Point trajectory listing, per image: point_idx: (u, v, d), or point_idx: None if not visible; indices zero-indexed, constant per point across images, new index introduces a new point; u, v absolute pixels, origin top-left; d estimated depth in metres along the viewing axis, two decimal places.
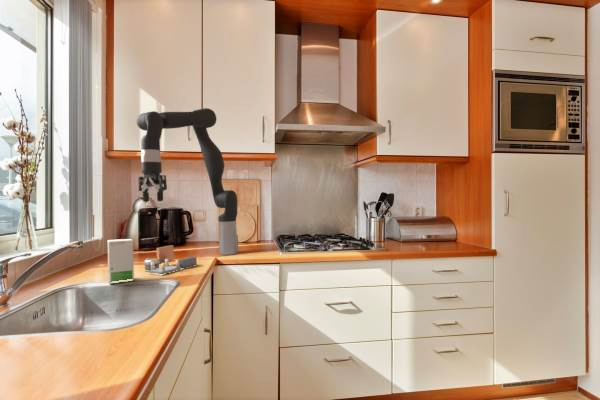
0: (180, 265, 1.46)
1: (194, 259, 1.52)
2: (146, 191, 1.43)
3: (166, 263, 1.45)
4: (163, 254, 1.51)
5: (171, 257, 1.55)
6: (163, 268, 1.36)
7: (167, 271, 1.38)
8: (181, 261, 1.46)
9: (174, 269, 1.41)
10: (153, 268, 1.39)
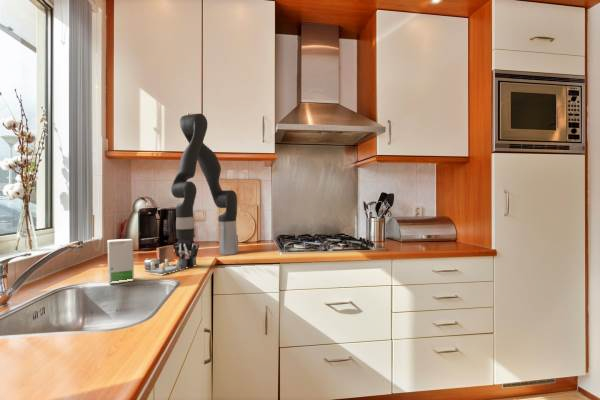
0: (180, 265, 1.46)
1: (194, 259, 1.51)
2: (183, 256, 1.51)
3: (166, 263, 1.45)
4: (163, 254, 1.51)
5: (171, 257, 1.55)
6: (163, 268, 1.36)
7: (167, 271, 1.38)
8: (181, 261, 1.46)
9: (174, 269, 1.41)
10: (153, 268, 1.39)
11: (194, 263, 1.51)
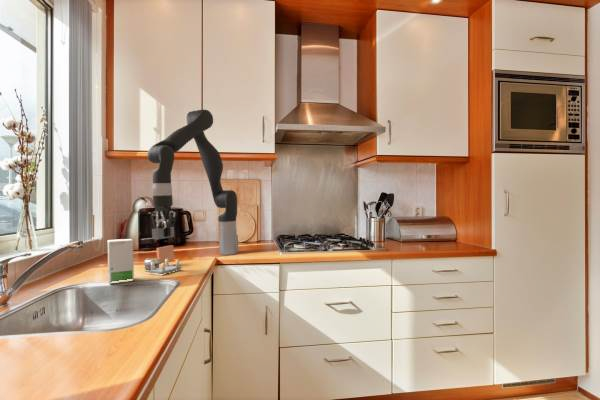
0: (156, 234, 1.37)
1: (171, 229, 1.42)
2: (161, 225, 1.42)
3: (166, 263, 1.45)
4: (163, 254, 1.51)
5: (171, 257, 1.55)
6: (163, 268, 1.36)
7: (167, 271, 1.38)
8: (157, 230, 1.37)
9: (174, 269, 1.41)
10: (153, 268, 1.39)
11: (172, 234, 1.42)
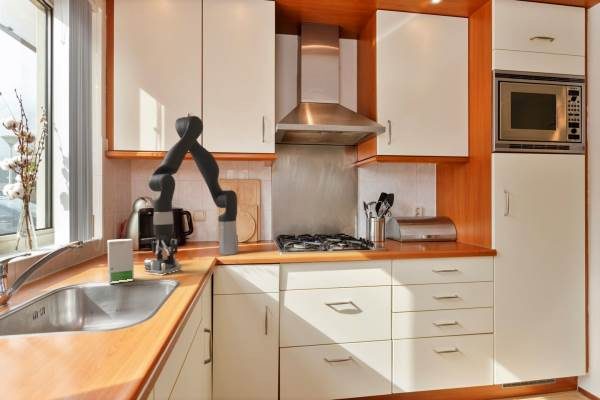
0: (157, 266, 1.37)
1: (173, 260, 1.43)
2: (160, 252, 1.43)
3: None
4: (163, 254, 1.51)
5: None
6: (163, 268, 1.36)
7: (167, 271, 1.38)
8: (158, 262, 1.37)
9: (174, 269, 1.41)
10: (153, 268, 1.39)
11: (173, 264, 1.43)
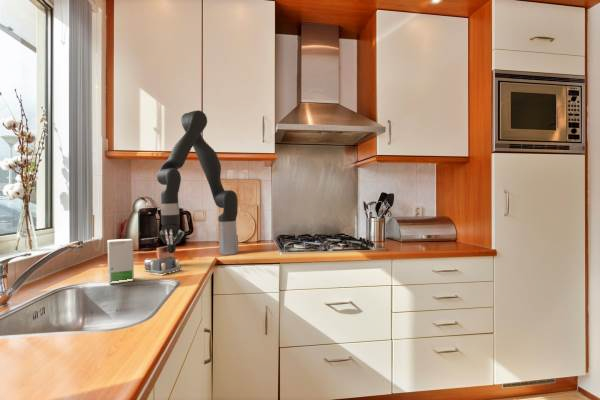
0: (157, 266, 1.37)
1: (173, 260, 1.43)
2: None
3: None
4: (163, 254, 1.51)
5: None
6: (163, 268, 1.36)
7: (167, 271, 1.38)
8: (158, 262, 1.37)
9: (174, 269, 1.41)
10: (153, 268, 1.39)
11: (173, 264, 1.43)
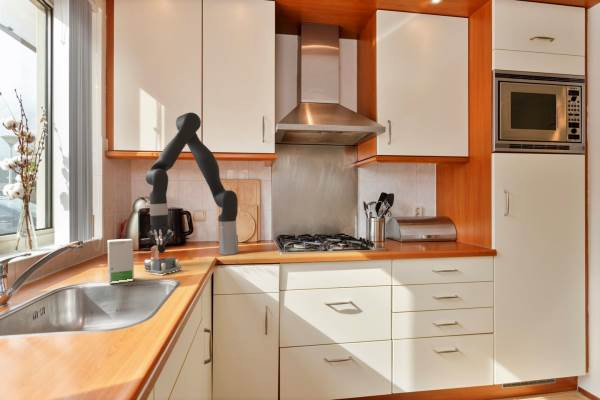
0: (157, 266, 1.37)
1: (173, 260, 1.43)
2: None
3: None
4: (155, 254, 1.52)
5: (157, 257, 1.56)
6: (163, 268, 1.36)
7: (167, 271, 1.38)
8: (158, 262, 1.37)
9: (174, 269, 1.41)
10: (153, 268, 1.39)
11: (173, 264, 1.43)
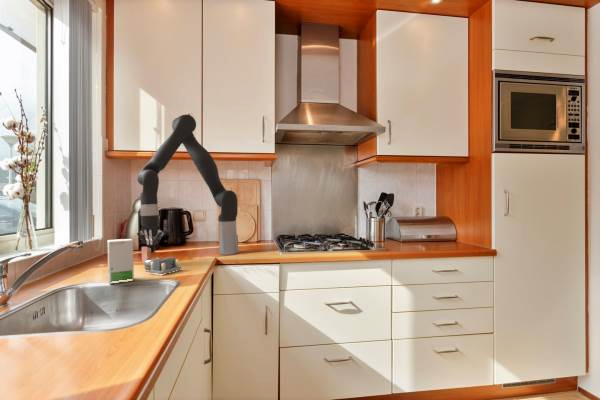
0: (157, 266, 1.37)
1: (173, 260, 1.43)
2: None
3: None
4: None
5: None
6: (163, 268, 1.36)
7: (167, 271, 1.38)
8: (158, 262, 1.37)
9: (174, 269, 1.41)
10: (153, 268, 1.39)
11: (173, 264, 1.43)
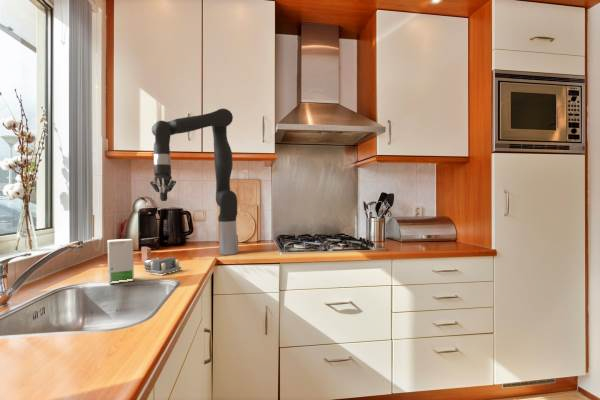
0: (157, 266, 1.37)
1: (173, 260, 1.43)
2: None
3: None
4: None
5: None
6: (163, 268, 1.36)
7: (167, 271, 1.38)
8: (158, 262, 1.37)
9: (174, 269, 1.41)
10: (153, 268, 1.39)
11: (173, 264, 1.43)
